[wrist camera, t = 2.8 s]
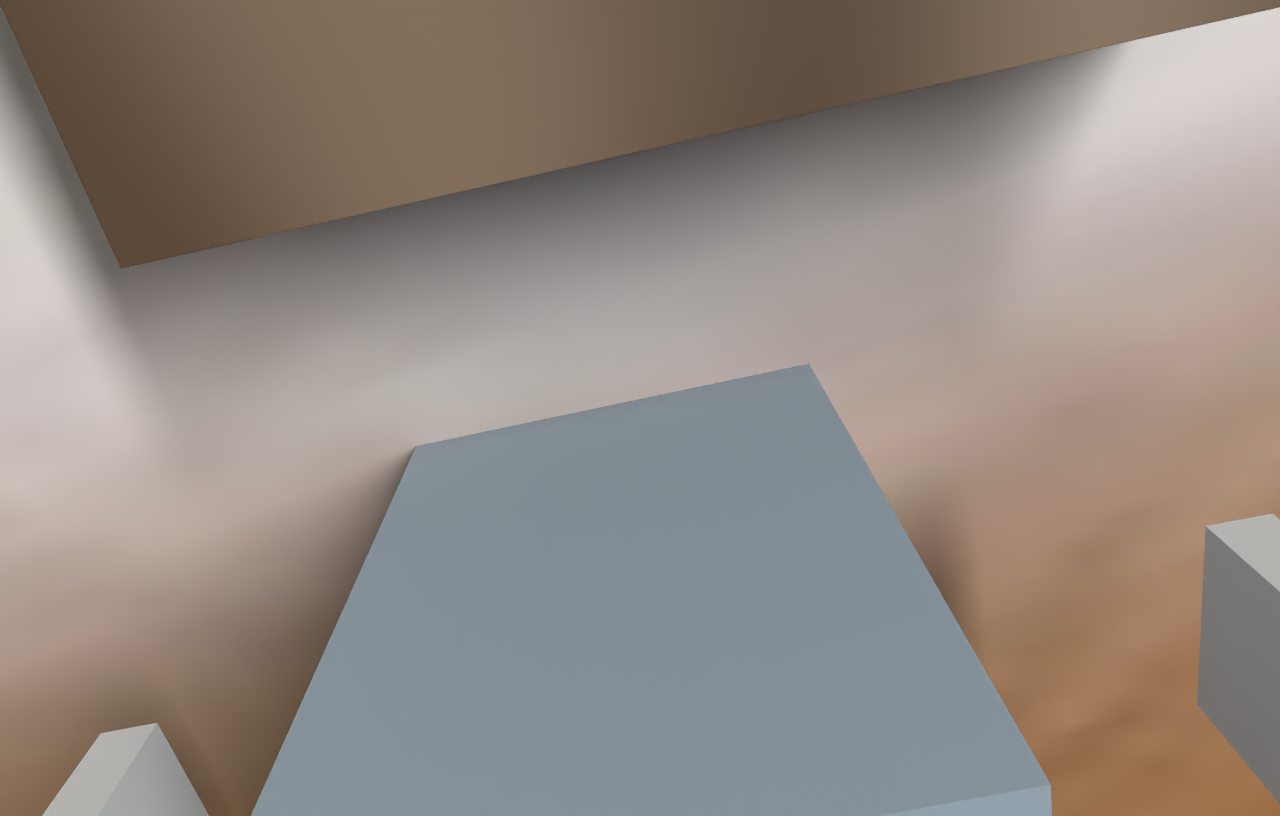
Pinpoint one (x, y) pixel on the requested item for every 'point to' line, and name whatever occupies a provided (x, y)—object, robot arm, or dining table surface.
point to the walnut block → (476, 89)
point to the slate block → (651, 632)
